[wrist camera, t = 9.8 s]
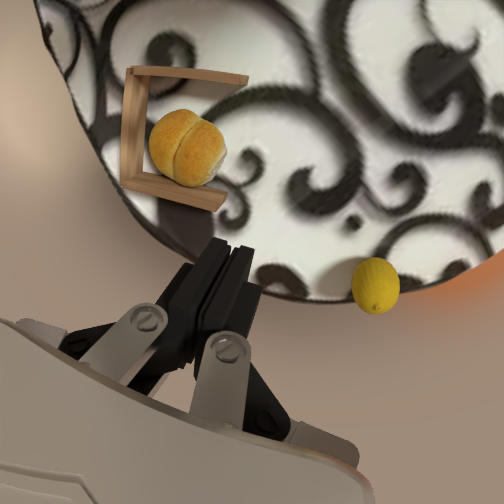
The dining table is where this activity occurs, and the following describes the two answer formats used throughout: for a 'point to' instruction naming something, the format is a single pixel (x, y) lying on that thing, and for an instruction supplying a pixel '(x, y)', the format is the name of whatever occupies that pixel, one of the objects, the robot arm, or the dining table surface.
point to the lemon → (375, 285)
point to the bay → (135, 133)
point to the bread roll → (187, 148)
